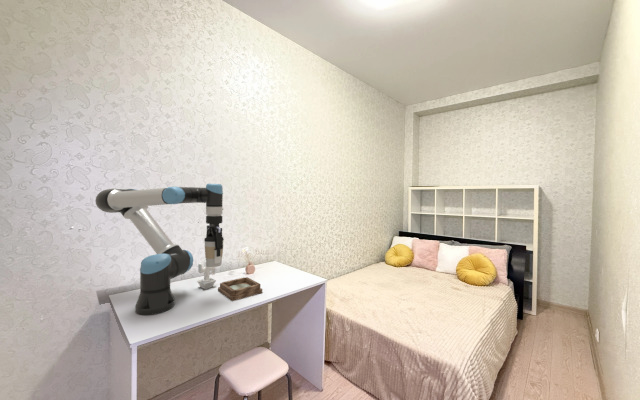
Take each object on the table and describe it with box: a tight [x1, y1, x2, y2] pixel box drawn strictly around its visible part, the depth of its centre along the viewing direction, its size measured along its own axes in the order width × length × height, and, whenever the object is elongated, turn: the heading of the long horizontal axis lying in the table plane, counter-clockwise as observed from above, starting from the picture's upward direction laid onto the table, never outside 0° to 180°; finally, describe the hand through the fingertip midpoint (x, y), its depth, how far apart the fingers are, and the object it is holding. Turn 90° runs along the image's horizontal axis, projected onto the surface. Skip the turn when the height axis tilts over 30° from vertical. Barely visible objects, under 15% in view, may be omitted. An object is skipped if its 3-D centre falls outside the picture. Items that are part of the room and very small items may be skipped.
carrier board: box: [217, 276, 263, 302], centre depth 141 cm, size 17×17×4 cm
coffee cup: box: [203, 235, 225, 268], centre depth 129 cm, size 9×9×15 cm
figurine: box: [196, 259, 217, 290], centre depth 146 cm, size 7×9×15 cm
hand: (213, 260), depth 129 cm, fingers closed on coffee cup, 9 cm apart
